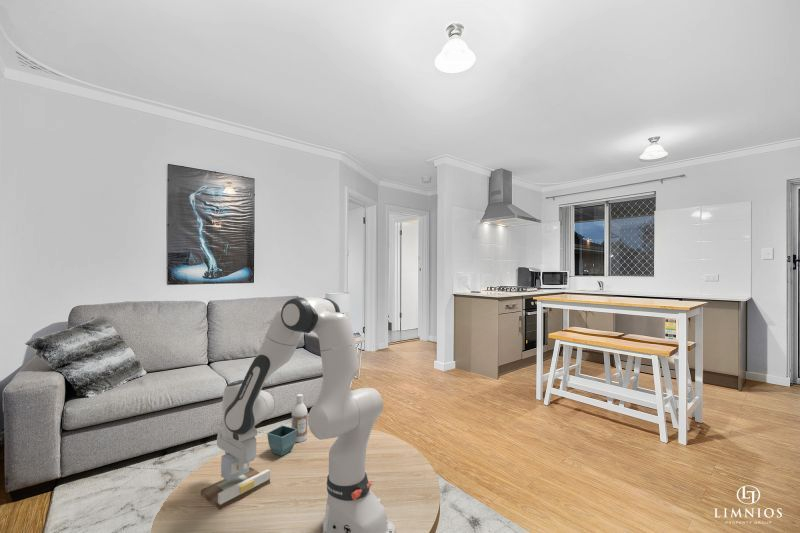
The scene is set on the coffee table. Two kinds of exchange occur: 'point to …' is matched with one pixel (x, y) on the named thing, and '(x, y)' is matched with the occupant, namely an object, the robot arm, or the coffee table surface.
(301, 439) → the bath foam
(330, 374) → the robot arm
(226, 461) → the product carton
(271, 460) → the coffee table surface
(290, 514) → the coffee table surface
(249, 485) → the price rail
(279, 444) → the flower pot
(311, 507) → the coffee table surface
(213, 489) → the shelf board
